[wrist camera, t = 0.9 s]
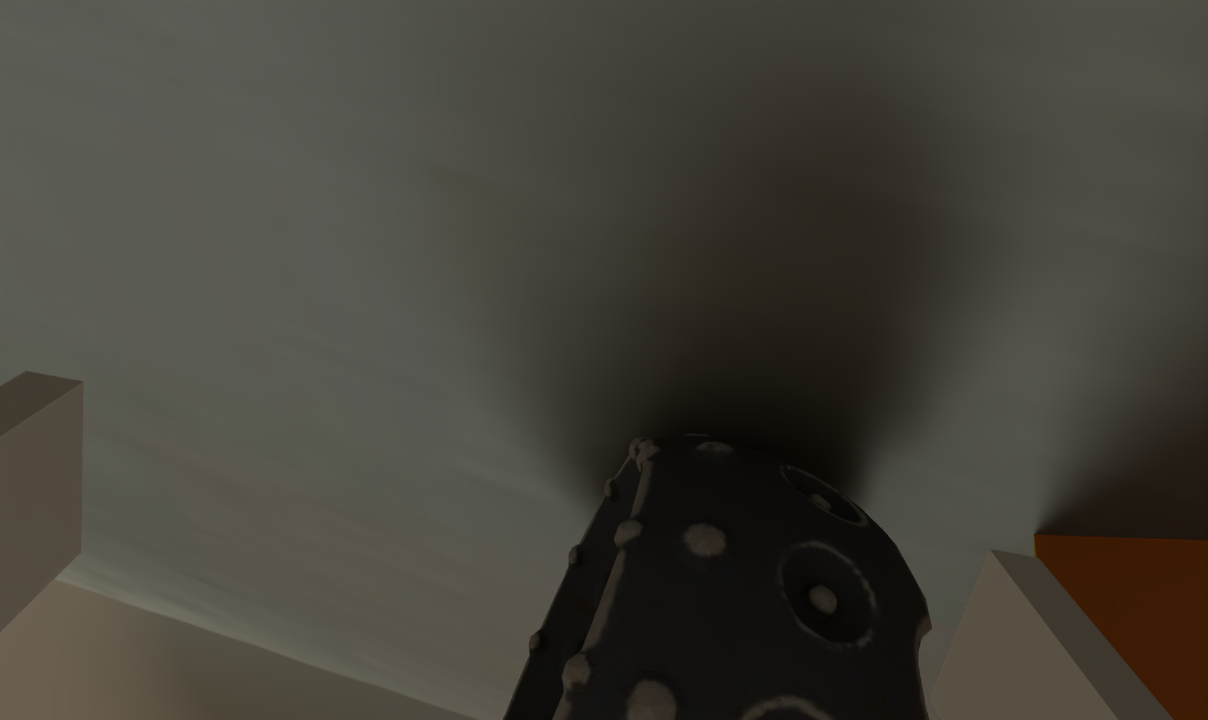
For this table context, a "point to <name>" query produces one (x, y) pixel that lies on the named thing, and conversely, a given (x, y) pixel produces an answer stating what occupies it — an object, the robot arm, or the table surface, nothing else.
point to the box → (1143, 607)
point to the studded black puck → (727, 600)
